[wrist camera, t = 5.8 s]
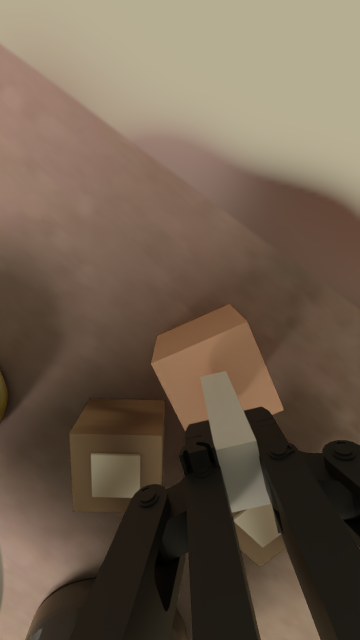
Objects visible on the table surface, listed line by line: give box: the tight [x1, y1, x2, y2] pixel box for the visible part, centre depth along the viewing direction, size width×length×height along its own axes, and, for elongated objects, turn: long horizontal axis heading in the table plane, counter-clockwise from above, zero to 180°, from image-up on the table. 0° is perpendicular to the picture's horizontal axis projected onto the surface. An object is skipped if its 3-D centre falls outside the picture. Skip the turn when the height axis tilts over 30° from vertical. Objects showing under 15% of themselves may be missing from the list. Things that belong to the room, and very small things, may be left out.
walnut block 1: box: [69, 398, 165, 513], centre depth 23 cm, size 6×6×5 cm
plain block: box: [151, 304, 284, 431], centre depth 21 cm, size 6×6×6 cm
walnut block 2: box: [232, 498, 286, 567], centre depth 24 cm, size 6×6×5 cm
